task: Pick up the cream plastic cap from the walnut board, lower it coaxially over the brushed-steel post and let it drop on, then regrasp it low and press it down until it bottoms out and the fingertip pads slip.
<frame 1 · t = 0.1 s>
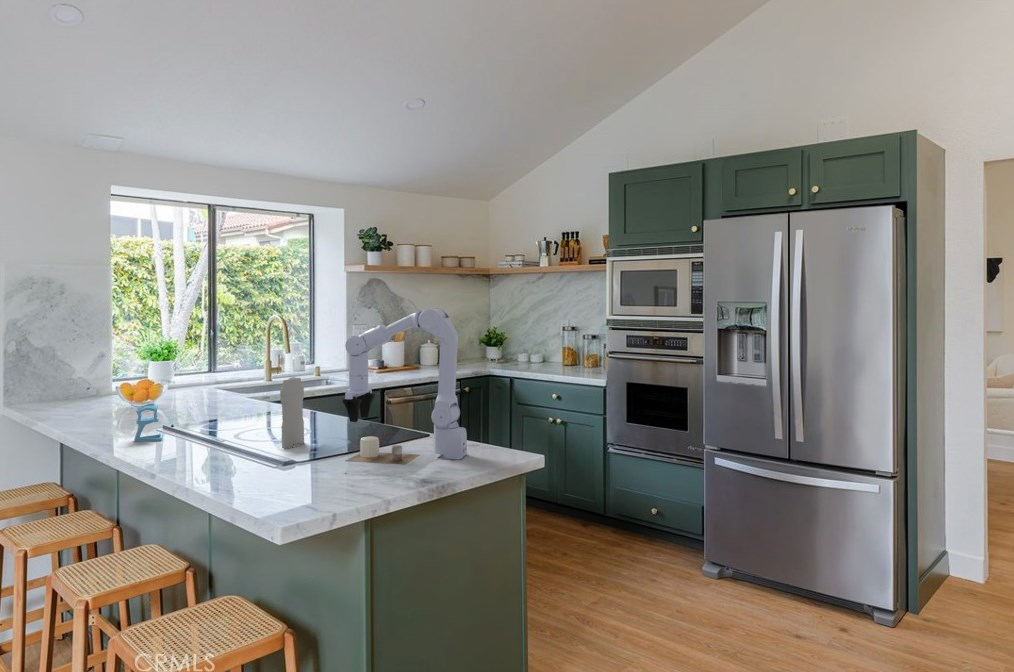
hand: (359, 419, 215), 10 cm above the countertop, fingers open, 7 cm apart
cap: (369, 455, 205), point 1 cm above the countertop, touching post board
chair: (148, 440, 235), on the countertop
tall pale column: (293, 446, 225), on the countertop
post board: (383, 462, 202), on the countertop
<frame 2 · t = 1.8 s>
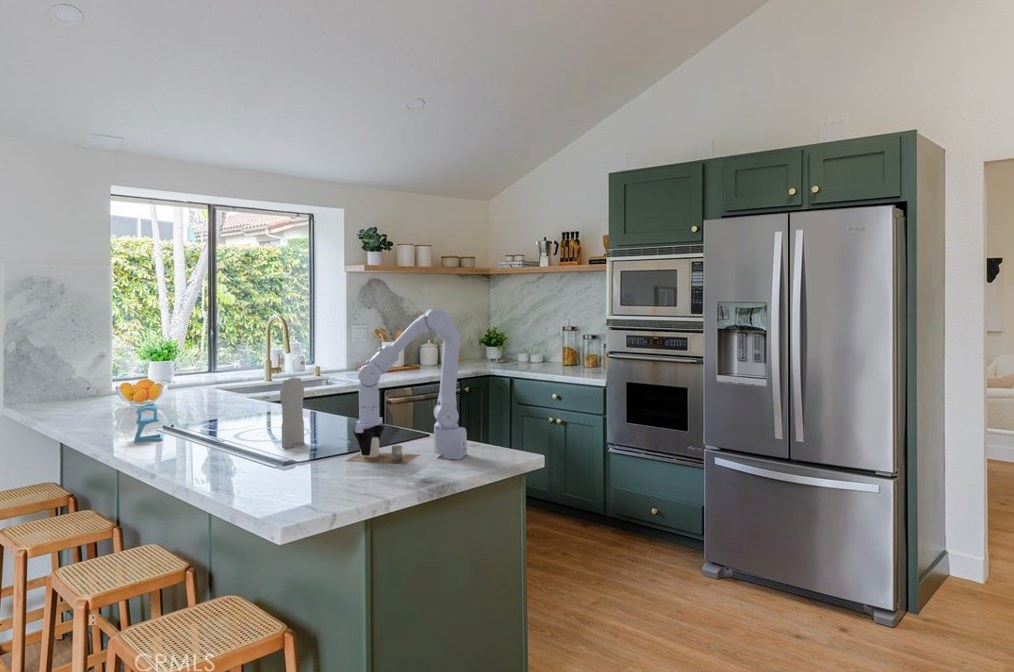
hand: (369, 452, 205), 2 cm above the countertop, fingers closed on cap, 5 cm apart
cap: (369, 455, 205), point 2 cm above the countertop, touching gripper, post board
everything else where it was.
when the fingers open (5 cm above the countertop, at t = 6.0 s): cap drops 3 cm, resting on post board.
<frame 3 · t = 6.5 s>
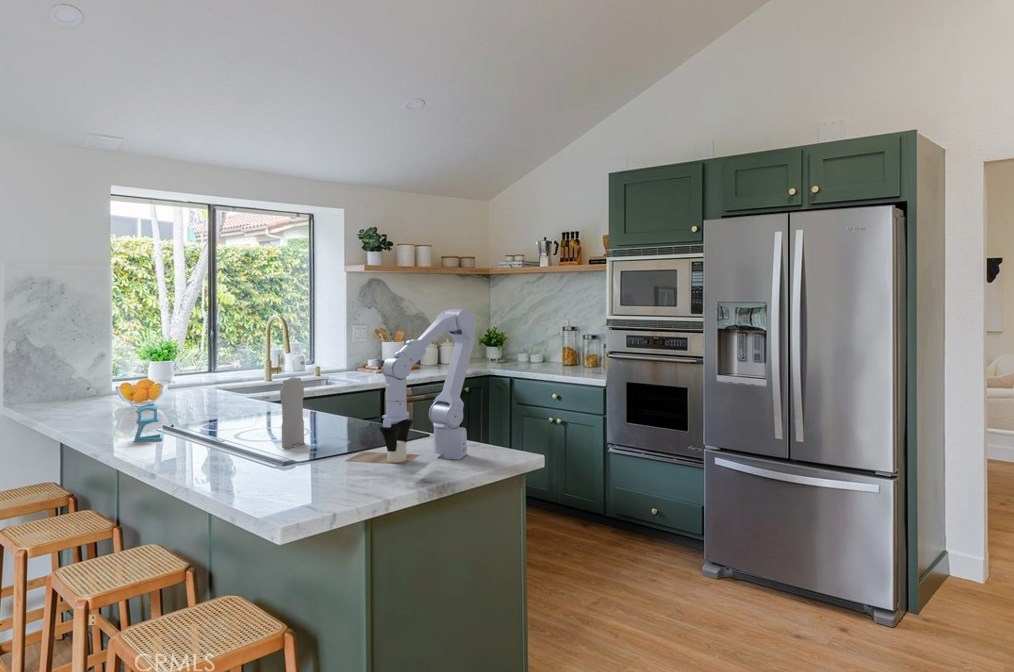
hand: (396, 448, 199), 5 cm above the countertop, fingers open, 7 cm apart
cap: (396, 460, 199), point 1 cm above the countertop, touching post board
everything else where it was.
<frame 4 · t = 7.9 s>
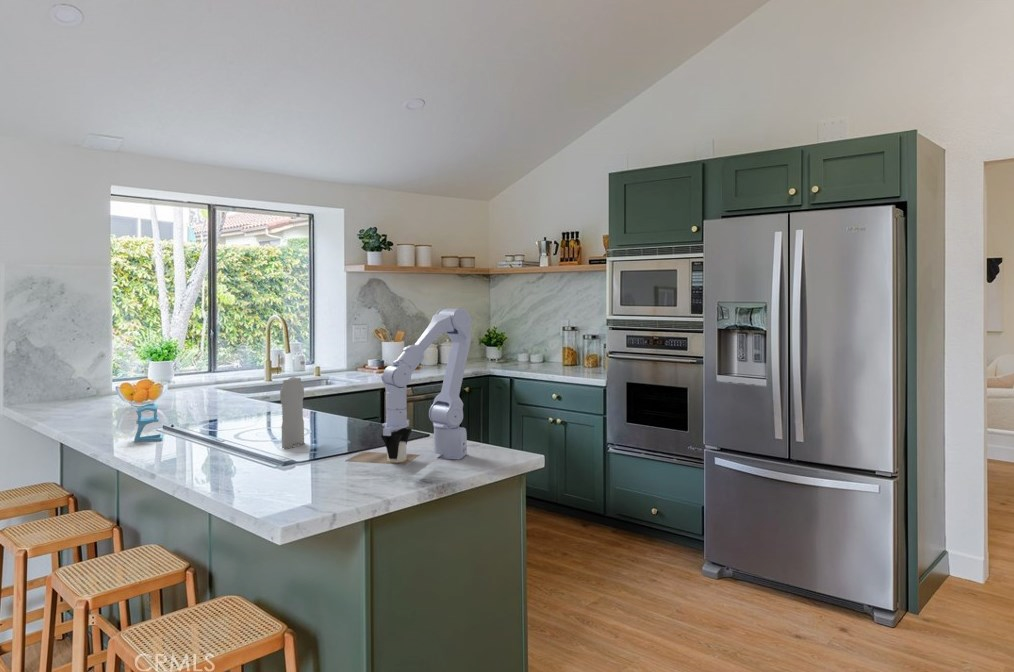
hand: (396, 456, 199), 3 cm above the countertop, fingers closed on cap, 5 cm apart
cap: (396, 460, 199), point 1 cm above the countertop, touching gripper, post board
everything else where it was.
when the fingers open (2 cm above the countertop, at t = 10.2 s): cap stays where it is, resting on post board.
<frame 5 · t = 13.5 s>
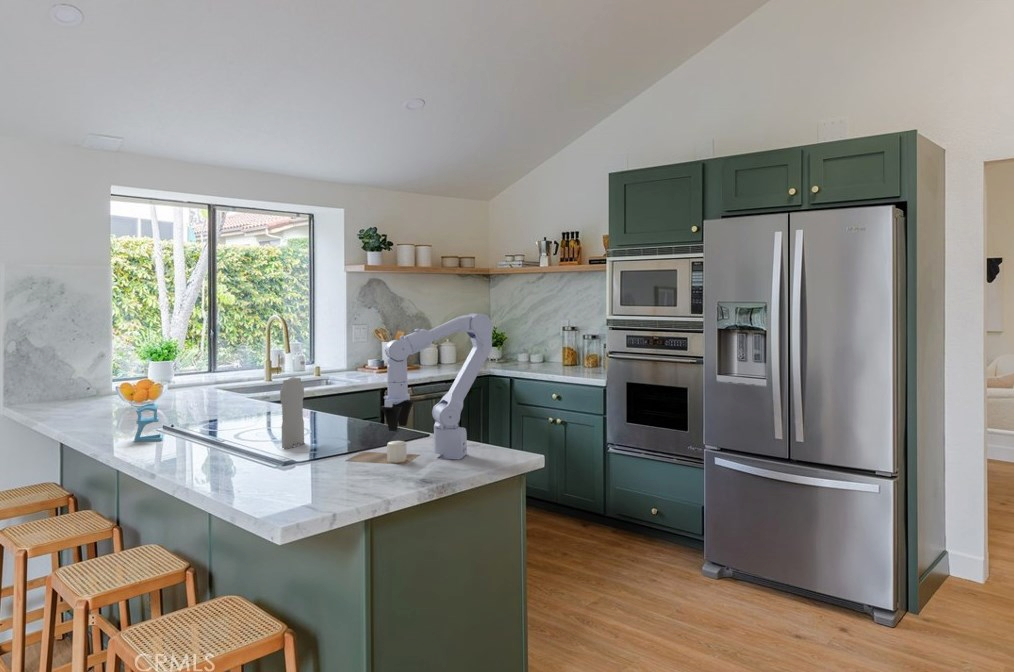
hand: (398, 428, 205), 9 cm above the countertop, fingers open, 7 cm apart
cap: (396, 460, 199), point 1 cm above the countertop, touching post board
everything else where it was.
at the end: cap 0.0 cm from the target spot on the post board, point 1.5 cm above the post board's base; cap tilted 0°; the gripper is holding nothing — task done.
